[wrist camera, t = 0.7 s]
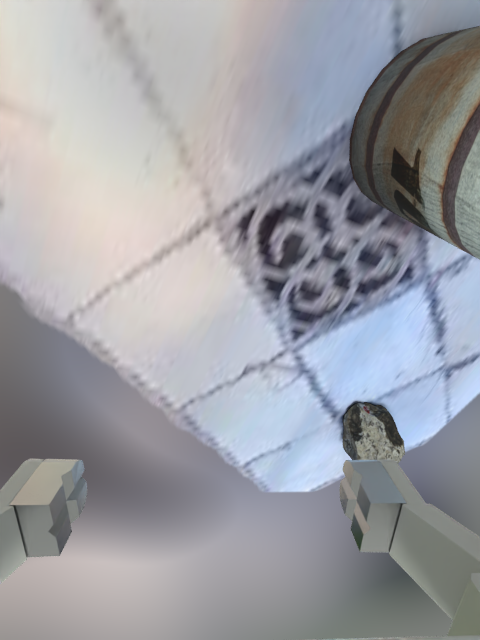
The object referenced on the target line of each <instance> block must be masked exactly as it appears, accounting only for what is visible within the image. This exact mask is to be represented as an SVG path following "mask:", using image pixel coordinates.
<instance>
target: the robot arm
mask: <svg viewBox="0 0 480 640" xmlns="http://www.w3.org/2000/svg"><path fill="white" fill-rule="evenodd" d="M83 472H84V466H83V461H81V460H68V459H65V460H64V459H29V460H27V461H25V462H24V463H23V464H22V465H21V466H20V468H19V469H18V470H17V471H16V472H15V473H14V475H13V476H12V477H11V478H10V479H9V480H8V482H7V483H6V484H5V485H4V486H3V488H2V489H1V490H0V584H1V583H2V582H3V581H4V580H5V579H6V578H7V577H8V576H9V575H10V574H11V573H12V572H14V571H15V570H16V569H17V568H18V567H19V566H20V565H21V564H22V563H23V562H24V561H25V560H27V557H41V556H60V554H61V552H62V550H63V548H64V546H65V544H66V542H67V540H68V538H69V536H70V534H71V532H72V530H71V523H72V522H73V521H74V520H76V519H77V518H78V517H79V516H80V514H81V512H82V510H83V508H84V504H85V500H86V497H87V484H86V481H85V480H84V479H83V478H82V477H81V475H82V473H83ZM343 472H344V474H345V476H346V477H345V478H344V479H342V481H341V483H340V501H341V504H342V508H343V511H344V513H345V515H346V516H347V517H348V518H349V519H350V520H352V525H351V531H352V533H353V536H354V539H355V541H356V544H357V546H358V548H359V551H360V552H390V553H389V554H390V555H391V557H392V558H393V559H394V560H395V561H396V562H397V563H398V564H399V565H400V566H401V567H402V568H403V569H404V570H405V571H406V572H407V573H408V574H409V575H410V576H411V577H412V578H413V580H415V582H416V583H417V584H418V585H419V586H420V587H421V588H422V589H423V590H424V591H425V592H426V593H427V594H428V595H429V596H430V597H431V598H432V599H433V600H434V601H435V603H437V604H438V606H440V608H441V609H442V610H443V611H444V612H445V613H446V614H447V615H448V616H449V617H450V618H451V619H452V620H453V622H452V624H451V627H450V629H449V632H448V634H447V636H432V637H431V636H429V637H392V638H353V639H317V640H480V537H479V536H478V535H476V534H475V533H473V532H472V531H470V530H469V529H467V528H466V527H464V526H462V525H461V524H460V523H458V522H457V521H455V520H454V519H452V518H451V517H449V516H448V515H446V514H445V513H443V512H442V511H441V510H439V509H437V508H436V507H435V506H433V505H432V504H426V503H425V502H424V500H423V499H422V497H421V496H420V495H419V493H418V492H417V490H416V489H415V488H414V486H413V485H412V483H411V482H410V480H409V479H408V478H407V476H406V475H405V473H404V472H403V471H402V469H401V468H400V466H399V465H398V463H397V462H396V461H394V460H346V461H345V463H344V466H343Z"/></svg>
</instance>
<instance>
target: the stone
mask: <svg viewBox="0 0 480 640" xmlns="http://www.w3.org/2000/svg"><path fill="white" fill-rule="evenodd" d="M343 426H344V433H343V448H344V450H345V451H346V453H347V454H348V455H349V456H350V457H351V459H352V460H394V461H396V462H397V463H399V461H400V460H401V458H402V457H403V455H405V450H404V441H403V439H402V438H401V436H400V435H399V433H398V431H397V427H396V424H395V422H394V420H393V417H392V416H391V414H390V413H389V412H388V411H387V409H386V408H384V407H383V406H381V405H376V406H374V405H372V404H369V403H367V402H364V403H356V404H354V405H353V406H352V407H351V408H350V409H349V410H348V411H347V413H346V414H345V415H344V419H343Z"/></svg>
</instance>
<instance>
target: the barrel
mask: <svg viewBox="0 0 480 640" xmlns="http://www.w3.org/2000/svg"><path fill="white" fill-rule="evenodd" d="M349 161H350V165H351V170H352V174H353V178H354V180H355V182H356V183H357V185H358V187H359V189H360V191H361V192H362V193H363V194H364V195H366V196H367V197H368V198H369V199H370V200H371V201H373V202H375V203H376V204H378V205H380V206H382V207H384V208H386V209H387V210H389V211H391V212H393V213H395V214H397V215H399V216H400V217H402V218H404V219H406V220H408V221H410V222H411V223H413V224H415V225H417V226H419V227H421V228H423V229H424V230H426V231H428V232H430V233H432V234H434V235H435V236H437V237H439V238H441V239H443V240H445V241H446V242H448V243H450V244H452V245H454V246H456V247H458V248H459V249H461V250H463V251H465V252H467V253H469V254H470V255H472V256H474V257H476V258H478V259H480V26H478V27H473V28H468V29H464V30H459V31H455V32H450V33H446V34H441V35H437V36H433V37H429V38H425V39H422V40H420V41H418V42H417V43H415V44H413V45H411V46H410V47H408V48H406V49H405V50H403V51H401V52H400V53H399V54H398V55H397V56H396V57H395V58H394V59H393V60H392V61H391V62H390V63H389V64H388V65H387V66H386V67H384V68H383V69H382V70H381V72H380V73H379V75H378V76H377V78H376V79H375V80H374V82H373V83H372V85H371V86H370V88H369V89H368V91H367V92H366V94H365V96H364V98H363V101H362V103H361V105H360V107H359V109H358V112H357V114H356V116H355V120H354V125H353V129H352V133H351V137H350V158H349Z"/></svg>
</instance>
